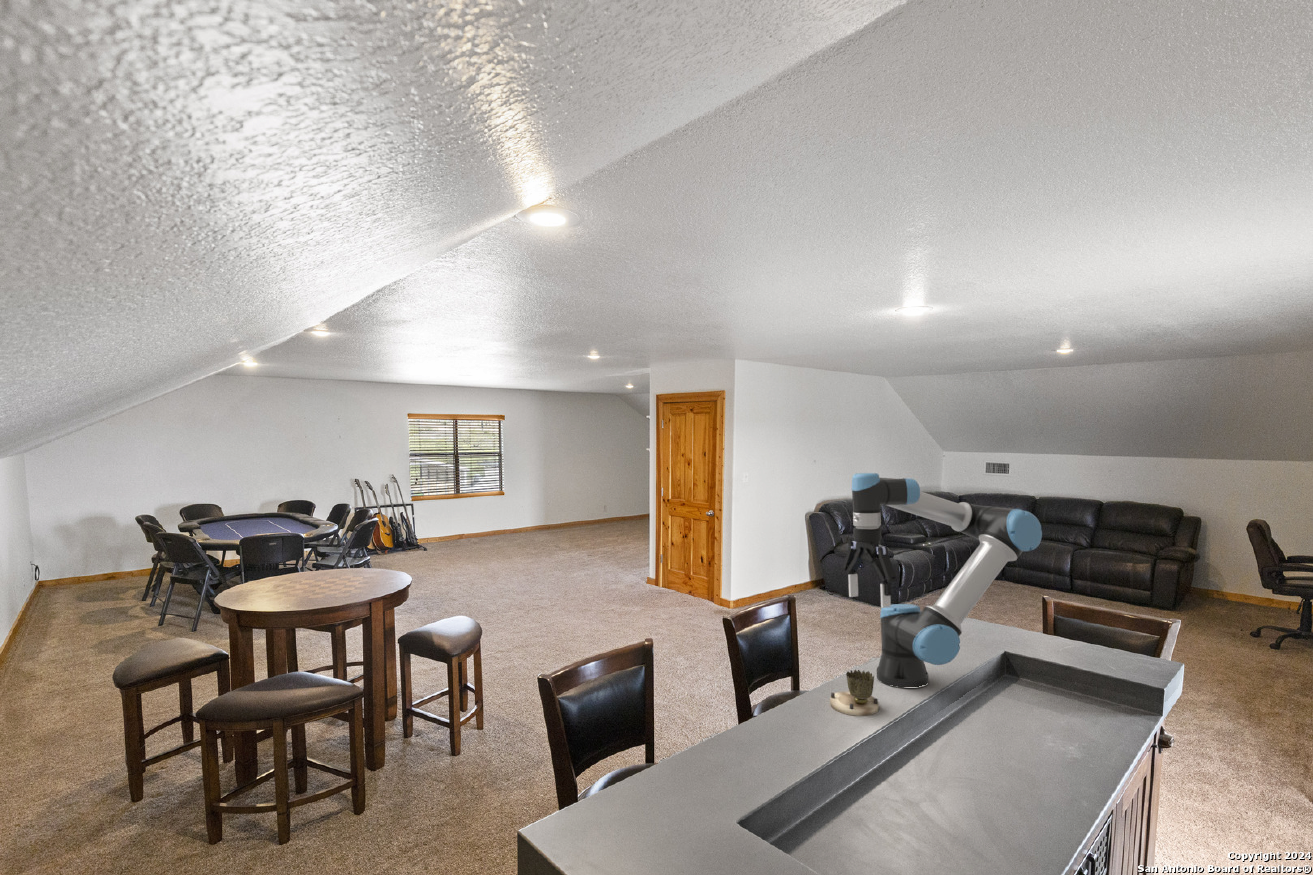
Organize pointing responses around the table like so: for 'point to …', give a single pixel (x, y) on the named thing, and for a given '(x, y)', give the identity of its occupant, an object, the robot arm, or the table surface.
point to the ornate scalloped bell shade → (860, 685)
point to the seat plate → (852, 704)
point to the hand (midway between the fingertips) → (869, 601)
